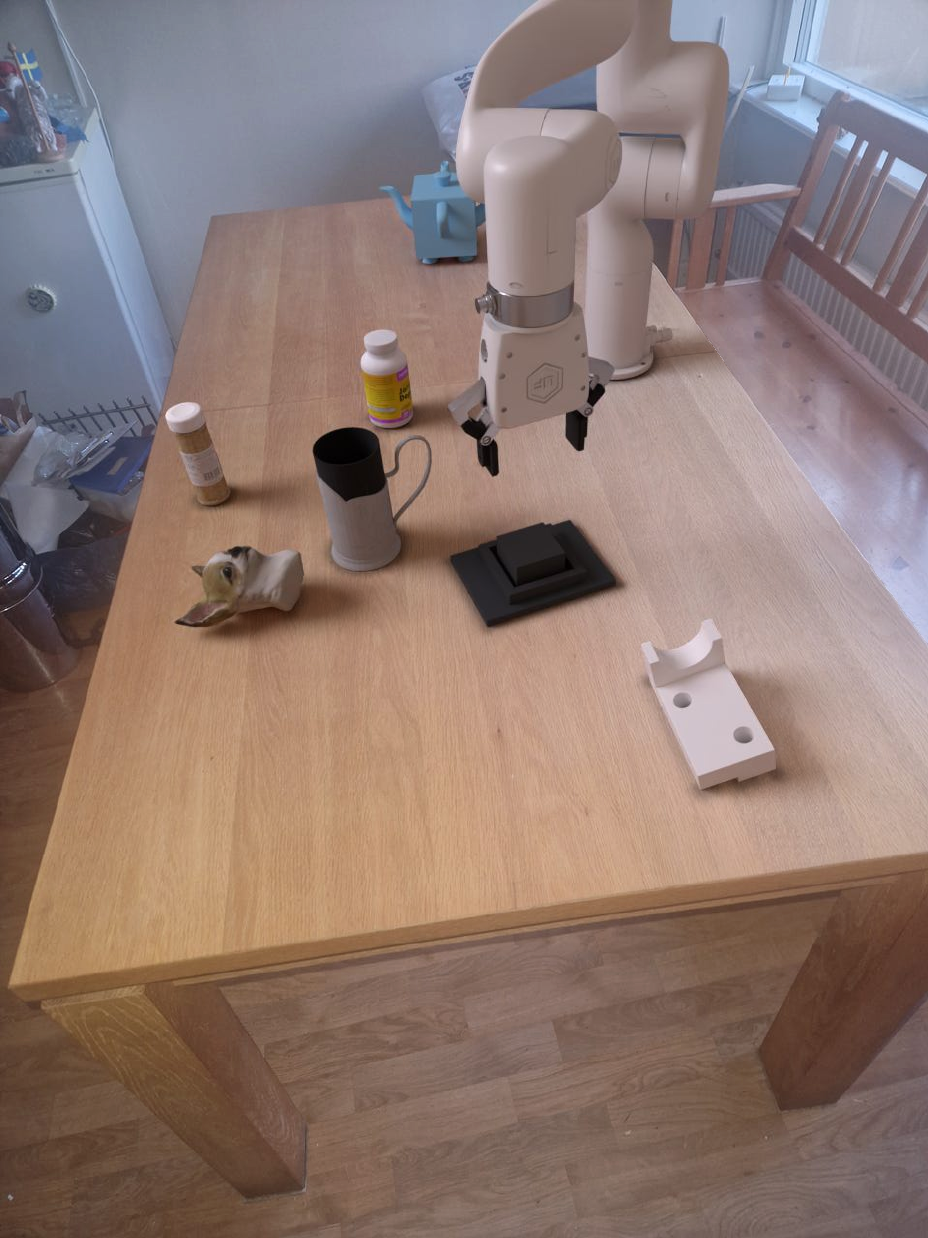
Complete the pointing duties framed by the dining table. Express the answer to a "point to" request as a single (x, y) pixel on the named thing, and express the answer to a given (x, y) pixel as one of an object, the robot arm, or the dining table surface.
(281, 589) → the ceramic sculpture
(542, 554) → the black pad
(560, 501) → the dining table surface
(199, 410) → the sprinkles bottle
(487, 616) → the base pad
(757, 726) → the bracket
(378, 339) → the supplement bottle
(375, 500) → the glass holder
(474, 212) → the teakettle
